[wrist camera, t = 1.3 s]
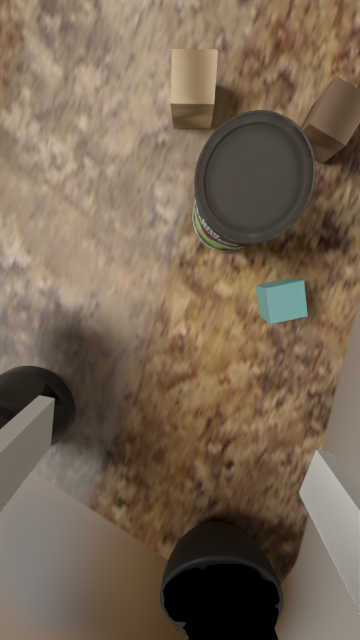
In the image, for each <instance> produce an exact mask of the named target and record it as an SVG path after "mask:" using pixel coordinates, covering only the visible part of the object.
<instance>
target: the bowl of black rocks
mask: <svg viewBox="0 0 360 640" xmlns="http://www.w3.org/2000/svg"><path fill="white" fill-rule="evenodd" d="M160 602H161V607H162V610H163V612H164V614H165V616H166V617H167V619H168V620H169V621H170V622H171V623H172V624H173V625H174V626H175V627H176V628H178V629H179V630H181V631H182V632H184V633H186V634H187V635H188V636H189V639H188V640H278V637H277V635H276V631H275V629H274V628H275V625H276V622H277V620H278V618H279V617H280V615H281V612H282V609H283V593H282V590H281V587H280V584H279V581H278V578H277V576H276V574H275V572H274V570H273V568H272V566H271V564H270V562H269V560H268V559H267V557H266V556H265V554H264V553H263V551H262V550H261V548H260V547H259V546H258V545H257V544H256V543H255V541H254V540H253V539H252V538H251V537H249V536H248V535H247V534H246V533H245V532H243V531H242V530H240V529H239V528H237V527H235V526H233V525H231V524H228V523H224V522H206V523H203V524H200V525H198V526H196V527H194V528H193V529H191V530H190V531H188V532H187V533H186V534H185V535H184V536H183V537H182V538H181V539H180V541H179V542H178V543H177V545H176V546H175V548H174V550H173V552H172V554H171V556H170V558H169V560H168V563H167V565H166V568H165V571H164V575H163V579H162V584H161V590H160Z"/></svg>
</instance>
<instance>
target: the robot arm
mask: <svg viewBox="0 0 360 640" xmlns="http://www.w3.org/2000/svg"><path fill="white" fill-rule="evenodd" d="M74 413H75V406H74V401H73V398H72V395H71V393H70V391H69V389H68V388H67V387H66V385H65V384H64V383H63V382H62V381H61V380H60V379H59V378H58V377H56V376H55V375H54V374H52V373H50V372H48V371H46V370H44V369H41V368H38V367H32V366H21V367H16V368H13V369H10V370H8V371H6V372H5V373H3V374H1V375H0V512H1V510H2V509H3V508H4V506H5V505H6V504H7V502H8V501H9V500H10V499H11V497H12V496H13V495H14V493H15V492H16V491H17V489H18V488H19V487H20V485H21V484H22V483H23V481H24V480H25V479H26V477H27V476H28V475H29V474H30V472H31V471H32V470H33V468H34V467H35V466H36V464H37V463H38V462H39V460H40V459H41V458H42V456H43V455H44V454H45V452H46V451H47V450H48V448H49V447H50V446H51V445H52V444H54V443H55V442H57V441H58V440H59V439H60V438H61V437H62V436H63V435H64V433H65V432H66V431H67V429H68V428H69V427H70V425H71V423H72V421H73V418H74ZM299 494H300V496H301V498H302V500H303V502H304V504H305V507H306V509H307V511H308V513H309V515H310V517H311V519H312V521H313V523H314V525H315V526H316V529H317V531H318V533H319V535H320V537H321V539H322V541H323V543H324V545H325V547H326V549H327V551H328V553H329V555H330V557H331V559H332V561H333V563H334V565H335V567H336V569H337V571H338V573H339V575H340V577H341V579H342V581H343V583H344V585H345V587H346V589H347V591H348V593H349V595H350V597H351V599H352V601H353V603H354V606H355V607H356V610H357V611H358V614H359V616H360V489H359V488H358V486H357V485H356V484H355V482H354V481H353V480H352V479H351V477H350V476H349V475H348V473H347V472H346V471H345V470H344V468H343V467H342V466H341V464H340V463H339V462H338V461H337V459H336V458H335V457H334V455H333V454H332V453H331V452H326V451H321V450H316V452H315V454H314V457H313V459H312V462H311V464H310V467H309V469H308V472H307V474H306V477H305V479H304V481H303V484H302V486H301V489H300V491H299Z"/></svg>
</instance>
